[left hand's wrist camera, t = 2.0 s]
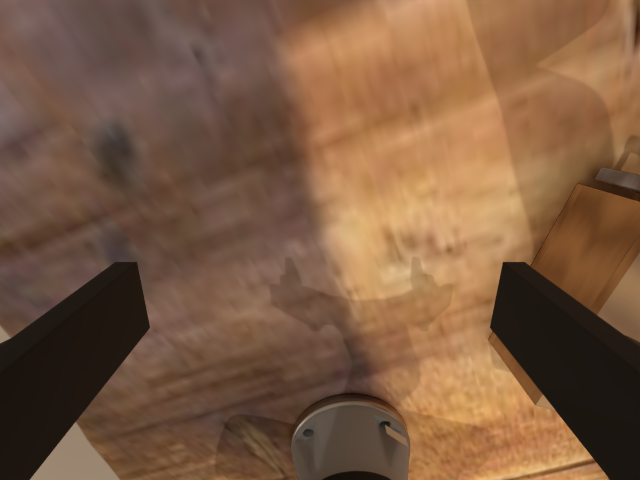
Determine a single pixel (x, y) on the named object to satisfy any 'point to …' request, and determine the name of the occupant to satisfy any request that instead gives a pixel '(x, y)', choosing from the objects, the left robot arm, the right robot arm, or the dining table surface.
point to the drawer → (620, 179)
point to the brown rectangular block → (591, 266)
